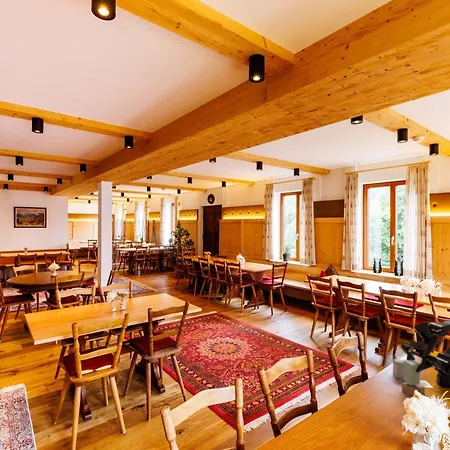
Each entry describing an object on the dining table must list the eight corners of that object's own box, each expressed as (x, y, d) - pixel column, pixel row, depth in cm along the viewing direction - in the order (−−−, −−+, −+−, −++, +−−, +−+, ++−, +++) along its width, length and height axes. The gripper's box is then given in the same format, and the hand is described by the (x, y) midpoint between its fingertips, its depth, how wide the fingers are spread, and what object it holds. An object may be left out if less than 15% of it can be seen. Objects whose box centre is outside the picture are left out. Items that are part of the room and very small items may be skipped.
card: (425, 381, 166) (425, 380, 166) (433, 388, 159) (433, 387, 159) (411, 380, 167) (411, 379, 167) (418, 387, 160) (418, 386, 160)
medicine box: (407, 375, 172) (407, 359, 172) (411, 379, 168) (411, 363, 168) (392, 374, 173) (392, 359, 173) (396, 378, 169) (396, 362, 169)
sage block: (411, 378, 158) (412, 359, 157) (419, 384, 153) (420, 364, 152) (403, 379, 157) (404, 360, 156) (410, 385, 152) (411, 365, 151)
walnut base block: (410, 388, 160) (410, 380, 160) (424, 394, 153) (424, 386, 153) (401, 391, 156) (402, 383, 156) (416, 398, 150) (416, 390, 150)
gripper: (403, 328, 165) (387, 351, 161) (438, 341, 147) (420, 368, 144) (414, 341, 167) (398, 365, 164) (449, 355, 150) (432, 382, 146)
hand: (411, 369), depth 154 cm, fingers closed on sage block, 5 cm apart
